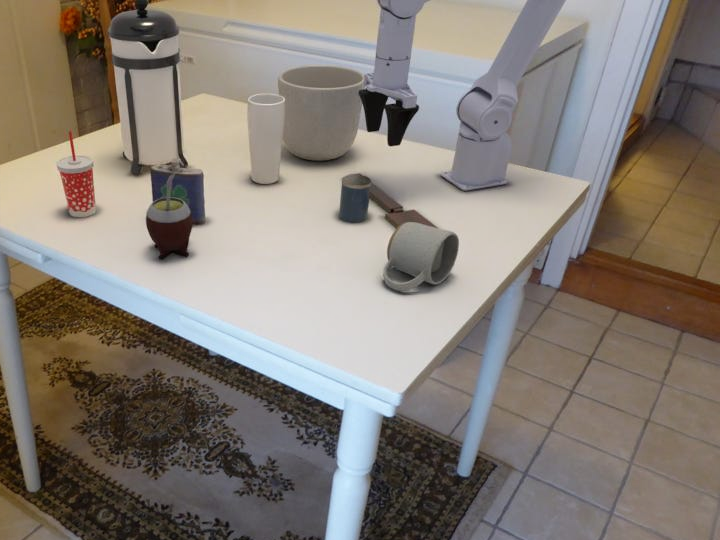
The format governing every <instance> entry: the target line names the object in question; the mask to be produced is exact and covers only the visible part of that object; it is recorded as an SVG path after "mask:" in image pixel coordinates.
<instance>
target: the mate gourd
mask: <svg viewBox="0 0 720 540" xmlns="http://www.w3.org/2000/svg"><path fill="white" fill-rule="evenodd" d="M175 175H176V174H175V173H173V174H172V175H171V176H170V177H169V179H168V181H167V185H166V188H167V197H166V198H160V199H157V200H155V201H154V202H153V201H152V202H151V204H150V205H149V207H148V209H147V210H146V216H145V225H146V229H147V232H148V234H149V237H150V239H151V241H152V242H153V243H154V245H153V246H154V249H157V250H158V253H159V255H157V258H158V260H160V261H164V260H165V259H166V258H167V257H169V256H170V255H177V256H181V257H184V258H187V257H189V255H190V252H188V247H189V242H190V237H191V234H192V230H193V225H194V224H193V220H192V216H191V211H190V209H189V207H188V205H187V204H186V203H185V202H184V201H183V200H181V199H178V198H174V197H170V192H171V188H172V179H173V178H174V176H175Z"/></svg>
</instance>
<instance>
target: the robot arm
mask: <svg viewBox="0 0 720 540" xmlns="http://www.w3.org/2000/svg"><path fill="white" fill-rule="evenodd" d="M429 1H431V0H376V2H377V4H378V6H379V7H380V8H379V9H380V12H379V22H378V23H379V24H378V30H377V31H378V32H377V38H376V39H377V40H376V48H375V58H374V66H373V67H374V68H373V72H367V73H363V74H364V84H363V85H365V89H362V90H359V96H360V98H361V101H362V107H363V111H364V118H365V126H366V132H367V133H373V132H379V131H380V129H381V125H382V120H383V115H384V111H385V115H386V120H387V133H386V134H387V136H386V137H387V139H386V141H387V146H389V147H396V146H401V144H402V141H403V139H404V136H405V134H406V131H407V130H408V127H409V125H410V123H411V121H412V119H413V118H414V117H415V116H416V115H417V114H418V112H419V110H420V105H419V104H417V101H418V94H416V93H415V92H414V91H413V90H412V88H411V87H410V85H409V84H408V81H409V80H408V79H409V73H410V67H411V66H410V65H411V57H412V51H413V44H414V42H413V41H414V35H415V29H416V22H417V21H416V20H417V15H418V14H419V13H420V12H421V11H422V9H423V8H424V5H425V3H428V2H429ZM566 1H567V0H526V1H525V4H524V5H523V7H522V8H521V11H520V13H519V15H518V17H517V18H516V20H515V22H514V24H513V26H512V27H511V29H510V31H509V33H508V34H507V36H506V38H505V41H504V42H503V43H502V45H501V48H500V49H499V51H498V53H497V55H496V57H495V58H494V60H493V62H492V64H491V66H490V67H489V69H488V71H487V72H486V73H484V74H483V75H481V76H479V77H477V78H476V79H475V80H474V82H473V83H472V85H471V87H470V88H469V89H468V90H467V91H466V92H465V93H463V95H462V96H461V97H460V99H459V100H458V101H457V104H456V108H455V109H456V110H455V111H456V112H455V114H456V117H457V119H458V120H459V121H460V123H459V128H458V135H457V140H456V145H455V150H454V156H453V161H452V167H451V171H445V172H444V171H443V172H440V176H441V177H442V178H444V179H445V180H447V181H448V182H450V183H451V184H453V185H454V186H456V187H457V188H459V189H460V190H462V191H473V190H478V189H484V188H491V187H496V186H501V185H506V184H507V183H508V181H507V180H506V174H507V170H508V166H509V162H510V158H511V154H512V140H511V137H510V135H509V134H508V133H507V131H508V130H509V128H510V126H511V124H512V121H513V116H514V115H513V114H514V111H515V109H516V107H517V105H518V103H519V97H518V91H517V89H518V88H517V86H518V84H519V82H520V81H521V79H522V77H523V76H524V74H525V72H526V71H527V69H528V67H529V66H530V64H531V62H532V60H533V58H534V56H535V55H536V53H537V52H538V50H539V48H540V46H541V45H542V43H543V41H544V39H545V37H546V36H547V34H548V32H549V30H550V29H551V27H552V25H553V23H554V22H555V21H556V18H557V17H558V15H559V13H560V12H561V10H562V8H563V6H564V4H565V3H566ZM389 98H390V99H392V100H394V101H395V103H387V102H388V100H389Z"/></svg>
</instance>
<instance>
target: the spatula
mask: <svg viewBox="0 0 720 540" xmlns="http://www.w3.org/2000/svg"><path fill="white" fill-rule="evenodd" d="M350 175H363V174H362V173H360V172H358V173H352V174H350ZM369 199H370V200H372V201H374V202H375V203H376V204H377V205H378V206H380V207H381V208H382V209H383V210H384V211H386V213H385V214H384V219H385V220H386V221H388V222H389V223H390V224H391V225H392V226H393V227H395V228H396V229H397V228H398V227H399V226H400V225H401V224H403V223H406V222H415V223H420V224H423V225H427V226H431V227H435V228H438V226H436V225H435V224H433V222H431V221H430V220H428V219H427V218H426V217H424V216H423V215H422V214H421V213H420V212H418V211H417V210H415V209H409V210H404V209H403V208H404V206H403V205H401V204H400V203H399V202H397V201H396V200H395V199H394V198H392V197H391V196H390V195H389V194H388V193H386V192H385V191H383V190H382V189H381V188H379V186H377V185H376V184H375V183H373V182H371V188H370V197H369Z"/></svg>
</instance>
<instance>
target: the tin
mask: <svg viewBox="0 0 720 540" xmlns="http://www.w3.org/2000/svg"><path fill="white" fill-rule="evenodd" d="M371 182H372V179H371V178H370V177H368V176H366V175H363V174H362V175H351V174H348V175H347V174H346V175H344V176H343V177H342V178H341V188H340V197H339V198H340V200H339V211H338V217H339V218H340V220H342V221H345V222H348V223H362V222H365V221H366V220H367V219H368V214H369V205H370V188H371ZM372 183H373V182H372Z"/></svg>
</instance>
